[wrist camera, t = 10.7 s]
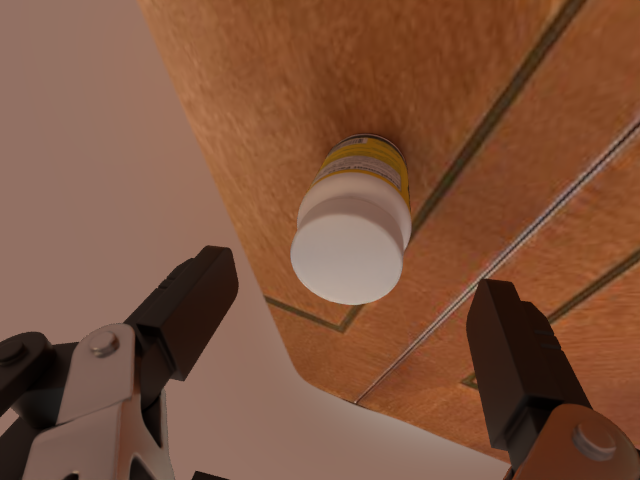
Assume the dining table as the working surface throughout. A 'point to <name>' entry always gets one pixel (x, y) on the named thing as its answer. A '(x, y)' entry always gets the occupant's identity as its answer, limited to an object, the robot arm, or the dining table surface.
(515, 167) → the dining table surface
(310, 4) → the dining table surface
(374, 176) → the supplement bottle
